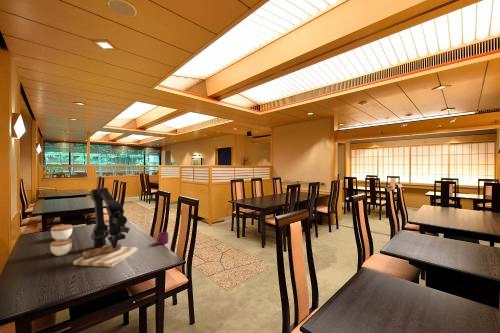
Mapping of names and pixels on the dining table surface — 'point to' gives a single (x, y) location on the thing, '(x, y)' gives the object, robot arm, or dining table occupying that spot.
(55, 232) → the lidded bowl
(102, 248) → the stool leg
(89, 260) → the stool board
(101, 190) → the robot arm
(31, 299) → the dining table surface
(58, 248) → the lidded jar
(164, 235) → the mug
